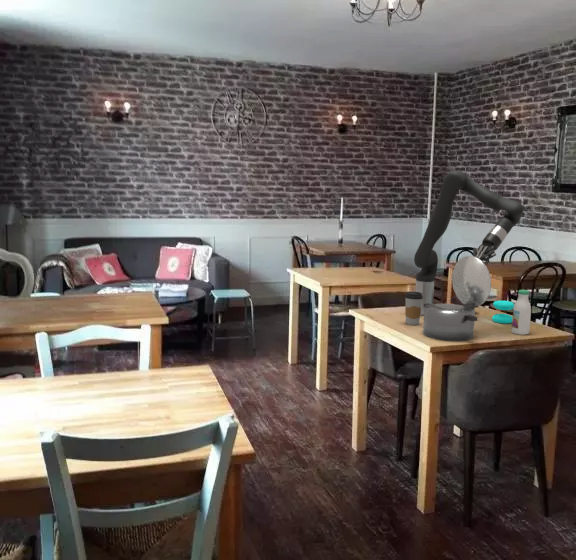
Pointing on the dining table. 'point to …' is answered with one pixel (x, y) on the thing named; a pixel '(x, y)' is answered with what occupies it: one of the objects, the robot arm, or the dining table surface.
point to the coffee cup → (413, 307)
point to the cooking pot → (449, 322)
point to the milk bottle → (521, 314)
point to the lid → (471, 281)
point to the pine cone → (458, 301)
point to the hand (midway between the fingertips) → (473, 265)
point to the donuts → (503, 317)
